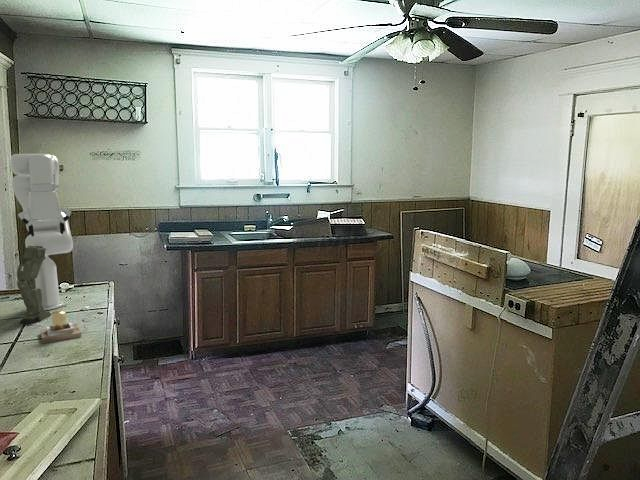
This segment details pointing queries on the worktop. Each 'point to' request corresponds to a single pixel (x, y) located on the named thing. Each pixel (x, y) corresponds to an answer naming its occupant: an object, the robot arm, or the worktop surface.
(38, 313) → the mechanical leg
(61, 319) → the cylinder
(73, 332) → the fitting board
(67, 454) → the worktop surface
